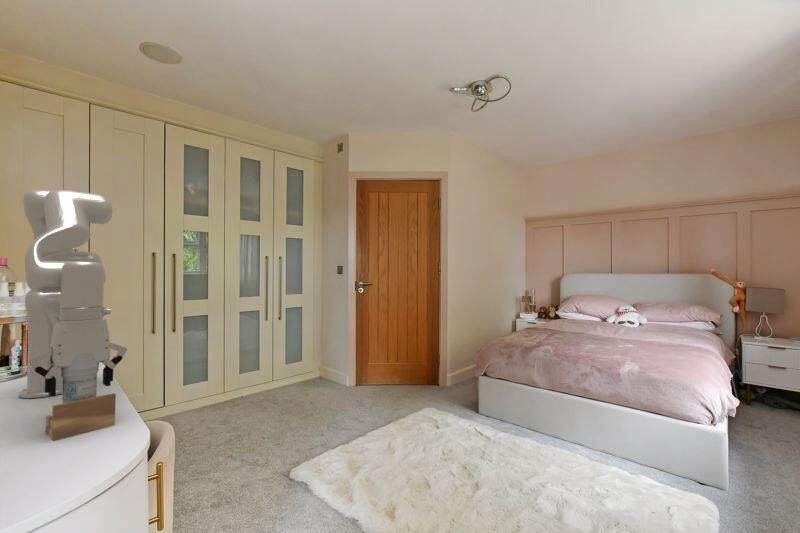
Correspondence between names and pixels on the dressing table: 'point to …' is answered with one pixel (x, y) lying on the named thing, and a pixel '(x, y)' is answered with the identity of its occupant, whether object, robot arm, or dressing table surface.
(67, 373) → the bottle
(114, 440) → the dressing table surface
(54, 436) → the wooden u-shaped piece
